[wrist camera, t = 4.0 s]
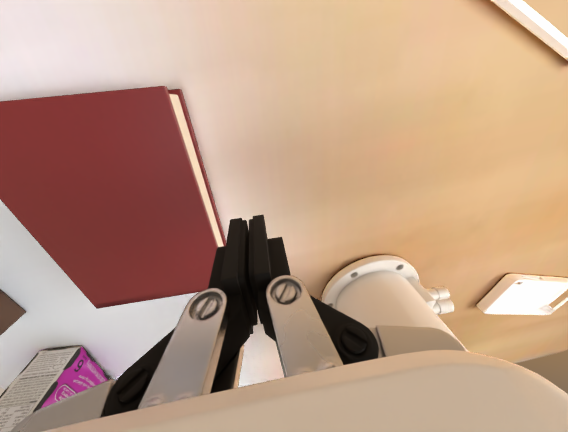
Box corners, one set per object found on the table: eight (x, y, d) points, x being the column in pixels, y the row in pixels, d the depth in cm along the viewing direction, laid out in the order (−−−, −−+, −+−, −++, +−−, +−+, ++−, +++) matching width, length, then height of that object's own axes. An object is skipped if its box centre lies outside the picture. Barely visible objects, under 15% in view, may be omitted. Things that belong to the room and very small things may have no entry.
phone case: (473, 306, 32) (539, 308, 35) (482, 314, 31) (549, 315, 34) (506, 272, 28) (576, 278, 32) (517, 279, 27) (588, 284, 30)
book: (181, 89, 13) (164, 85, 11) (232, 264, 21) (229, 287, 19) (-12, 107, 13) (-80, 109, 10) (116, 283, 21) (96, 308, 18)
